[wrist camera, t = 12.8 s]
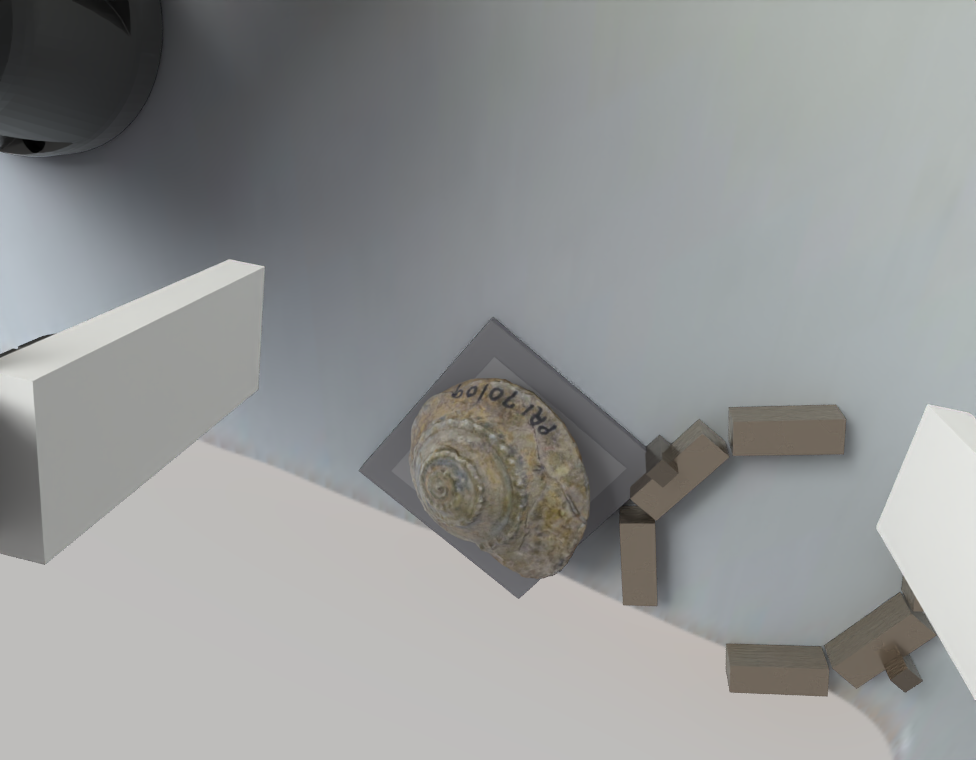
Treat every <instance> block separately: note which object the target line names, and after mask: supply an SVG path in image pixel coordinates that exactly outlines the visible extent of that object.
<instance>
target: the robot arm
mask: <svg viewBox="0 0 976 760" xmlns="http://www.w3.org/2000/svg"><path fill="white" fill-rule="evenodd" d="M161 47H162V14H161V5H160V0H0V152H4V153H8V154H12V155H19V156H29V157H47V156H56V155H65V154H74V153H79V152H84V151H87V150H91V149H93V148H96V147H98V146H101V145H103V144H105V143H106V142H108V141H110V140H111V139H113V138H114V137H116V136H117V135H118V134H120V133H121V132H122V131H123V130H124V129H125V128H126V127H127V126H128V125H129V124H130V123H131V122H132V121H133V120H134V119H135V117H136V116H137V115H138V113H139V112H140V110H141V109H142V107H143V105H144V104H145V102H146V100H147V98H148V96H149V94H150V92H151V89H152V87H153V84H154V81H155V78H156V75H157V71H158V67H159V62H160V56H161ZM264 276H265V266H260V265H255V264H250V263H246V262H241V261H236V260H231V259H229V260H226V261H224V262H222V263H219V264H217V265H215V266H212V267H210V268H208V269H205V270H203V271H201V272H198V273H196V274H194V275H192V276H189V277H187V278H185V279H182V280H180V281H178V282H175V283H173V284H171V285H168V286H166V287H164V288H161V289H159V290H157V291H154V292H152V293H150V294H147V295H145V296H143V297H140V298H138V299H136V300H133V301H131V302H129V303H126V304H124V305H122V306H119V307H117V308H115V309H112V310H110V311H108V312H105V313H103V314H101V315H98V316H96V317H94V318H91V319H89V320H87V321H85V322H82V323H80V324H78V325H75V326H73V327H71V328H68V329H66V330H64V331H61V332H59V333H56V334H51V335H46V336H42V337H39V338H37V339H35V340H32V341H30V342H28V343H25V344H23V345H21V346H18V349H11V350H9V351H6V352H4V353H2V354H0V553H1V554H4V555H8V556H12V557H16V558H20V559H24V560H28V561H32V562H36V563H40V564H44V565H45V564H47V563H48V562H49V561H50V560H51V559H53V558H54V557H55V556H56V555H57V554H59V553H60V552H61V551H62V550H64V549H65V548H66V547H67V546H68V545H70V544H71V543H72V542H73V541H74V540H76V539H77V538H78V537H79V536H81V535H82V534H83V533H84V532H85V531H87V530H88V529H89V528H90V527H92V526H93V525H94V524H95V523H96V522H98V521H99V520H100V519H101V518H102V517H104V516H105V515H106V514H107V513H109V512H110V511H111V510H112V509H114V508H115V507H116V506H117V505H118V504H120V503H121V502H122V501H123V500H124V499H126V498H127V497H128V496H129V495H131V494H132V493H133V492H134V491H135V490H137V489H138V488H139V487H140V486H142V485H143V484H144V483H145V482H146V481H148V480H149V479H150V478H151V477H152V476H154V475H155V474H156V473H157V472H159V471H160V470H161V469H162V468H164V467H165V466H166V465H167V464H168V463H169V462H171V461H172V460H173V459H174V458H176V457H177V456H178V455H179V454H181V453H182V452H183V451H184V450H185V449H187V448H188V447H189V446H190V445H192V444H193V443H194V442H195V441H196V440H198V439H199V438H200V437H201V436H202V435H204V434H205V433H206V432H207V431H209V430H210V429H211V428H212V427H213V426H215V425H216V424H217V423H218V422H220V421H221V420H222V419H223V418H224V417H226V416H227V415H228V414H229V413H231V412H232V411H233V410H234V409H235V408H237V407H238V406H239V405H240V404H241V403H243V402H244V401H245V400H246V399H248V398H249V397H250V396H251V395H252V394H254V393H255V392H256V391H257V390H258V387H259V369H260V350H261V331H262V313H263V294H264ZM876 529H877V530H878V532H879V534H880V536H881V537H882V539H883V541H884V543H885V544H886V546H887V548H888V550H889V551H890V553H891V555H892V557H893V558H894V560H895V562H896V563H897V565H898V567H899V569H900V570H901V572H902V574H903V576H904V577H905V579H906V581H907V583H908V584H909V586H910V588H911V590H912V591H913V593H914V595H915V597H916V598H917V600H918V602H919V603H920V605H921V607H922V609H923V610H924V612H925V614H926V616H927V617H928V619H929V621H930V623H931V624H932V626H933V628H934V630H935V631H936V633H937V635H938V637H939V638H940V640H941V642H942V643H943V645H944V647H945V649H946V650H947V652H948V654H949V656H950V657H951V659H952V661H953V663H954V664H955V666H956V668H957V670H958V671H959V673H960V675H961V676H962V678H963V680H964V682H965V683H966V685H967V687H968V689H969V690H970V692H971V694H972V696H973V697H974V699H975V701H976V418H975V417H974V416H973V415H972V414H970V413H968V412H964V411H959V410H954V409H949V408H944V407H940V406H935V405H930V404H927V407H926V409H925V411H924V414H923V416H922V419H921V421H920V423H919V426H918V428H917V430H916V433H915V435H914V438H913V440H912V442H911V445H910V447H909V450H908V452H907V454H906V457H905V459H904V462H903V464H902V466H901V469H900V471H899V474H898V476H897V478H896V481H895V483H894V486H893V488H892V490H891V493H890V495H889V498H888V500H887V502H886V505H885V507H884V510H883V512H882V514H881V517H880V519H879V521H878V524H877V526H876Z"/></svg>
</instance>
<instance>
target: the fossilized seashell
mask: <svg viewBox="0 0 976 760" xmlns="http://www.w3.org/2000/svg"><path fill="white" fill-rule="evenodd" d="M409 465H410V473H411V477H412V481H413V484H414V487H415V489H416V492H417V496H418V498H419V499H420V501H421V503H422V505H423V507H424V510H425V511H426V512H427V513H428V514H429V516H430V517H431V518H432V519H433V520H434V521H435V522H436V523H437V524H438V525H439V526H440V527H441V528H443V529H444V530H445V531H446V532H448V533H450V534H451V535H453V536H455V537H457V538H459V539H462V540H465V541H470V542H473V543H475V544H476V545H477V546H478V547H479V548H480V550H481V551H485V552H488V553H489V554H490V555H491V556H492V557H493V558H494V559H496V560H497V561H498V562H500V563H501V564H502V565H503V566H505V567H507V568H509V569H510V570H512V571H514V572H517V573H518V574H520V576H521V577H524V578H535V579H539V578H545V577H548V576H553V575H555V574H557V572H560V571H561V570H562V568H563V567H564V566H565V565H566V564H567V563H568V561H569V559H570V558H571V556H572V555H573V553H574V551H575V548H576V547H577V545H578V544H579V542H580V540H581V539H582V537H583V534H584V532H585V529H586V526H587V520H588V517H589V510H590V487H589V482H588V480H589V479H588V477H587V474H586V472H585V467H584V465H583V462H582V456H581V454H580V451H579V449H578V446H577V444H576V442H575V440H574V439H573V437H572V435H571V434H570V432H569V431H568V429H567V427H566V425H565V423H564V422H563V421H562V420H561V419H560V418H559V417H558V416H557V415H556V413H555V412H554V411H553V410H552V409H551V408H550V407H549V406H548V405H547V404H546V403H545V402H544V401H542V400H541V398H539V397H538V396H537V395H536V394H535V393H534V392H532V391H530V390H527V389H525V388H523V387H521V386H519V385H517V384H513V383H511V382H510V381H508V380H506V379H499V378H477V379H470V380H467V381H464V382H461V383H459V384H456V385H454V386H452V387H450V388H449V389H447V390H445V391H443V392H441V393H439V394H436V395H434V396H432V397H431V398H429V399H428V400H427V401H426V402H425V403H424V405H423V406H422V408H421V409H420V411H419V414H418V416H416V418H415V420H414V422H413V424H412V429H411V446H410V454H409Z"/></svg>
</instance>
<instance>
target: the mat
mask: <svg viewBox="0 0 976 760" xmlns="http://www.w3.org/2000/svg"><path fill="white" fill-rule="evenodd" d="M477 378H499V379H506V380H508V381H510V382H511V383H513V384H517V385H519V386H521V387H523V388H525V389H527V390H530V391H532V392H534V393H535V394H536V395H537V396H538V397H539V398H541V400H542V401H544V402H545V403H546V404H547V405H548V406H549V407H550V408H551V409H552V410H553V411H554V412H555V413H556V415H557V416H558V417H559V418H560V419H561V420H562V421H563V422H564V423H565V425H566V427H567V429H568V431H569V432H570V434H571V435H572V437H573V439H574V440H575V442H576V444H577V446H578V449H579V451H580V454H581V456H582V462H583V465H584V467H585V472H586V474H587V477H588V479H589V480H588V482H589V487H590V510H589V517H588V520H587V526H586V529H585V532H584V534H583V537H582V539H581V540H580V542H579V544H580V543H581V542H582V541H583V540H584V539H586V538H587V537H588V536H589V535H590V534H591V533H592V532H593V531H594V530H595V529H597V528H598V527H599V526H600V525H601V524H602V523H603V522H604V521H605V520H607V519H608V518H609V517H610V516H611V515H612V514H613V513H614V512H615V511H616V510H618V509H619V508H620V507H621V506H622V505H623V504H624V503H625V502H626V501H628V500H629V499H630V487H631V486H632V485H633V484H634V483H635V482H636V481H637V480H638V479H640V478H641V477H642V476H643V475H644V474H645V473H646V460H645V453H646V447H645V446H644V445H643V444H642V443H640V442H639V441H638V440H637V439H636V438H635V437H633V436H632V435H631V434H630V433H629V432H628V431H626V430H625V429H624V428H623V427H622V426H620V425H619V424H618V423H617V422H616V421H615V420H613V419H612V418H611V417H610V416H609V415H608V414H606V413H605V412H604V411H603V410H602V409H600V408H599V407H598V406H597V405H596V404H595V403H593V402H592V401H591V400H590V399H589V398H588V397H586V396H585V395H584V394H583V393H582V392H580V391H579V390H578V389H577V388H576V387H575V386H573V385H572V384H571V383H570V382H569V381H568V380H566V379H565V378H564V377H563V376H562V375H560V374H559V373H558V372H557V371H556V370H555V369H553V368H552V367H551V366H550V365H549V364H548V363H546V362H545V361H544V360H543V359H542V358H540V357H539V356H538V355H537V354H536V353H535V352H533V351H532V350H531V349H530V348H529V347H528V346H526V345H525V344H524V343H523V342H522V341H520V340H519V339H518V338H517V337H516V336H515V335H513V334H512V333H511V332H510V331H509V330H508V329H506V328H505V327H504V326H503V325H502V324H500V323H499V322H498V321H497V320H496V319H495V318H493V317H492V319H491V320H490V321H489V322H488V323H487V324H486V325H485V327H484V328H483V329H482V330H481V331H480V332H479V333H478V335H477V336H476V337H475V338H474V339H473V340H472V341H471V343H470V344H469V345H468V346H467V347H466V348H465V349H464V351H463V352H462V353H461V354H460V355H459V356H458V357H457V358H456V360H455V361H454V362H453V363H452V364H451V365H450V366H449V368H448V369H447V370H446V371H445V372H444V373H443V374H442V376H441V377H440V378H439V379H438V380H437V381H436V382H435V384H434V385H433V386H432V387H431V388H430V389H429V390H428V392H427V393H426V394H425V395H424V396H423V397H422V398H421V399H420V401H419V402H418V403H417V404H416V405H415V406H414V407H413V409H412V410H411V411H410V412H409V413H408V414H407V415H406V417H405V418H404V419H403V420H402V421H401V422H400V423H399V425H398V426H397V427H396V428H395V429H394V430H393V431H392V433H391V434H390V435H389V436H388V437H387V438H386V439H385V441H384V442H383V443H382V444H381V445H380V446H379V447H378V448H377V450H376V451H375V452H374V453H373V454H372V455H371V456H370V458H369V459H368V460H367V461H366V462H365V463H364V464H363V466H362V467H361V468H360V470H359V471H360V472H361V473H362V474H363V475H365V476H366V477H367V478H368V479H370V480H371V481H372V482H373V483H375V484H376V485H377V486H378V487H380V488H381V489H382V490H383V491H385V492H386V493H387V494H388V495H390V496H391V497H392V498H393V499H395V500H396V501H397V502H398V503H400V504H401V505H402V506H403V507H405V508H406V509H407V510H408V511H410V512H411V513H412V514H413V515H415V516H416V517H417V518H418V519H419V520H421V521H422V522H423V523H424V524H426V525H427V526H428V527H429V528H431V529H432V530H433V531H434V532H436V533H437V534H438V535H439V536H441V537H442V538H443V539H445V540H446V541H447V542H448V543H449V544H451V545H452V546H453V547H454V548H456V549H457V550H458V551H459V552H461V553H462V554H463V555H464V556H466V557H467V558H468V559H469V560H471V561H472V562H473V563H474V564H476V565H477V566H478V567H479V568H481V569H482V570H483V571H484V572H486V573H487V574H488V575H489V576H491V577H492V578H493V579H494V580H496V581H497V582H498V583H499V584H501V585H502V586H503V587H504V588H506V589H507V590H508V591H509V592H511V593H512V594H513V595H514V596H516V597H517V598H520V597H521V596H522V595H524V594H525V593H526V592H527V591H528V590H529V589H530V588H531V587H532V586H533V585H535V584H536V583H537V582H538V581H539V580H540V579H541V578H539V579H535V578H524V577H521V576H520V574H518V573H517V572H514V571H512V570H510V569H509V568H507V567H505V566H503V565H502V564H501V563H500V562H498V561H497V560H496V559H494V558H493V557H492V556H491V555H490V554H489V553H488V552H485V551H481V550H480V548H479V547H478V546H477V545H476V544H475V543H473V542H470V541H465V540H462V539H459V538H457V537H455V536H453V535H451V534H450V533H448V532H446V531H445V530H444V529H443V528H441V527H440V526H439V525H438V524H437V523H436V522H435V521H434V520H433V519H432V518H431V517H430V516H429V514H428V513H427V512H426V511H425V510H424V507H423V505H422V503H421V501H420V499H419V498H418V496H417V492H416V489H415V487H414V484H413V481H412V477H411V473H410V465H409V454H410V446H411V429H412V424H413V422H414V420H415V418H416V416H418V414H419V411H420V409H421V408H422V406H423V405H424V403H425V402H426V401H427V400H428V399H429V398H431V397H432V396H434V395H436V394H439V393H441V392H443V391H445V390H447V389H449V388H450V387H452V386H454V385H456V384H459V383H461V382H464V381H467V380H470V379H477ZM579 544H578V545H579ZM578 545H577V546H578Z"/></svg>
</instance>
